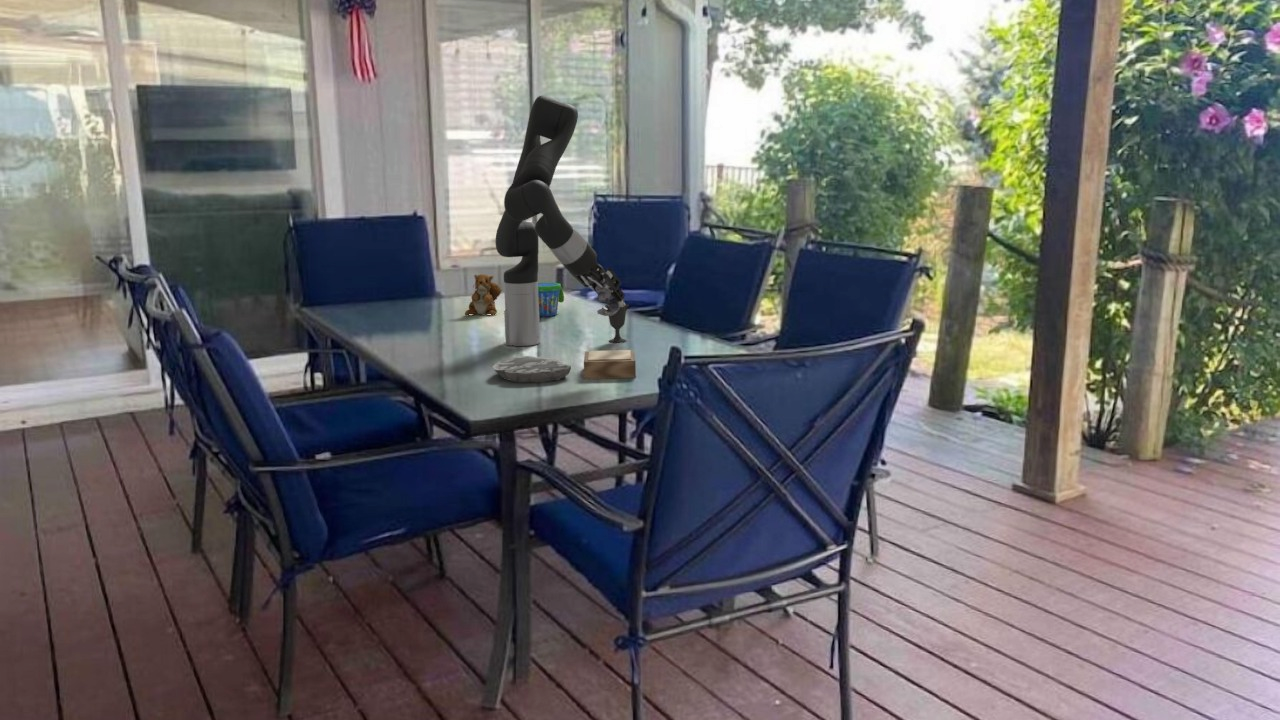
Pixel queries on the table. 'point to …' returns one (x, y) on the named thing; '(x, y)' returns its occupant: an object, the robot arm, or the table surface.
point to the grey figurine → (607, 301)
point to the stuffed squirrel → (484, 296)
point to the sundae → (618, 321)
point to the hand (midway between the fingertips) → (613, 297)
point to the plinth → (609, 364)
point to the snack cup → (549, 298)
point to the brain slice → (531, 369)
